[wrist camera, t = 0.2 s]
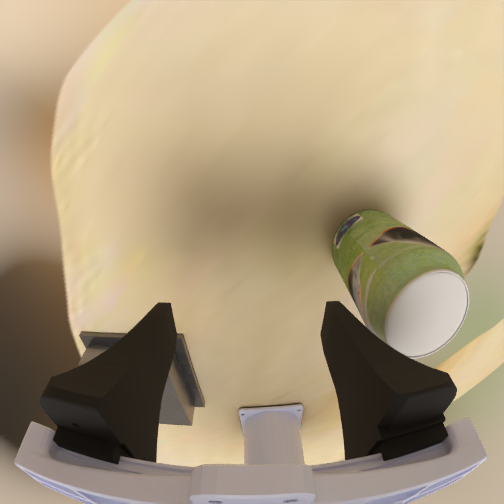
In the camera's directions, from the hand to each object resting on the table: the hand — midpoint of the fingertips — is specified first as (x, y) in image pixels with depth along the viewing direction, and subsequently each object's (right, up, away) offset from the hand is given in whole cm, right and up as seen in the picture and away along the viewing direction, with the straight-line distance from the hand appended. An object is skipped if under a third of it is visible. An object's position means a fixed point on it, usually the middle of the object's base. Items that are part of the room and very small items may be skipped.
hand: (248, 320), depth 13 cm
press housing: (-12, -11, +16) cm, 23 cm away
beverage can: (+9, +5, +9) cm, 14 cm away
